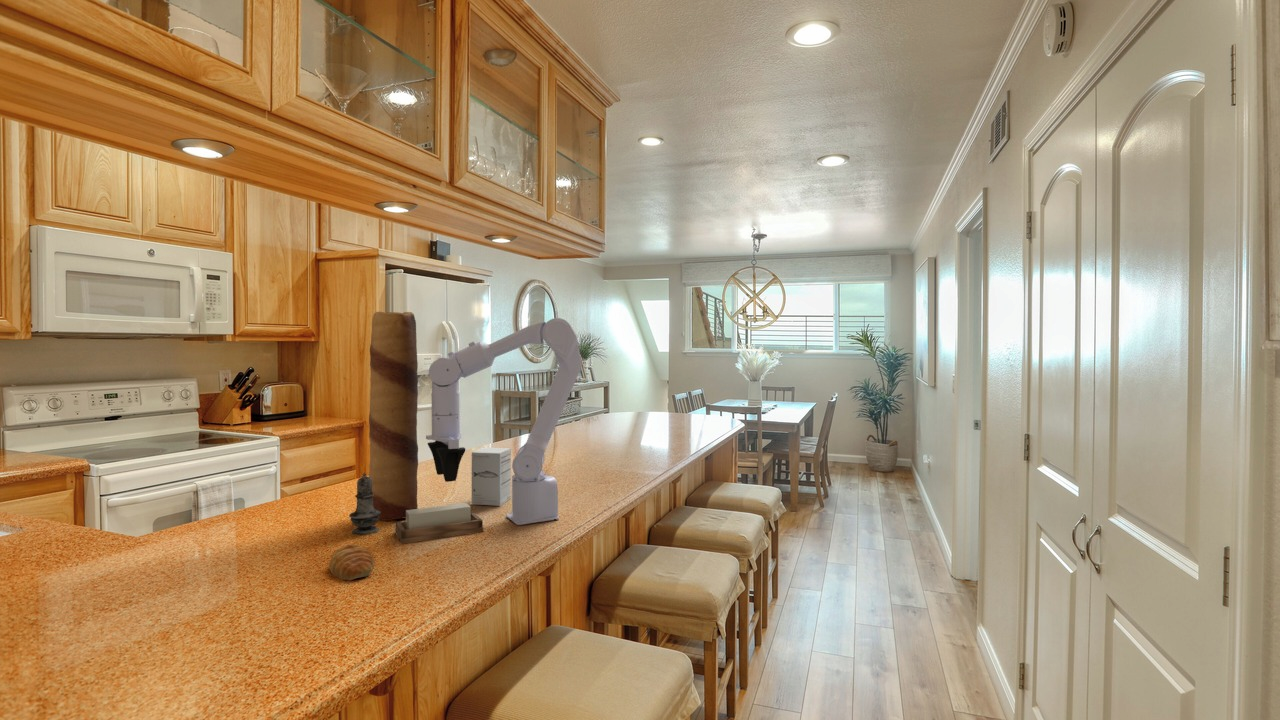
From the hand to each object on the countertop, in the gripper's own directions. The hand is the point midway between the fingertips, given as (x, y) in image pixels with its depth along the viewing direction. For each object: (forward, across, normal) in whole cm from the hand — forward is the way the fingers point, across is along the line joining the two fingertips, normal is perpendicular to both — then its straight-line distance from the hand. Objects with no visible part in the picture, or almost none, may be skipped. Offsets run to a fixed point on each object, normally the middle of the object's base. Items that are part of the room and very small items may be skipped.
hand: (446, 477), depth 134 cm
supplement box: (+10, -11, +13) cm, 20 cm away
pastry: (+10, +21, -20) cm, 31 cm away
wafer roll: (+10, -10, -9) cm, 17 cm away
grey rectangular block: (+9, +7, -3) cm, 12 cm away
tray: (+9, +7, -3) cm, 12 cm away
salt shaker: (+10, -1, -16) cm, 19 cm away
